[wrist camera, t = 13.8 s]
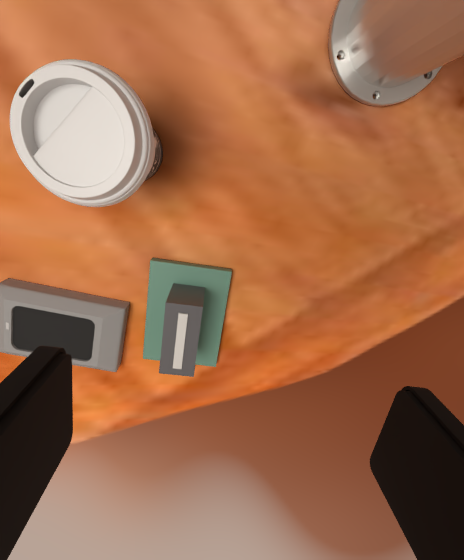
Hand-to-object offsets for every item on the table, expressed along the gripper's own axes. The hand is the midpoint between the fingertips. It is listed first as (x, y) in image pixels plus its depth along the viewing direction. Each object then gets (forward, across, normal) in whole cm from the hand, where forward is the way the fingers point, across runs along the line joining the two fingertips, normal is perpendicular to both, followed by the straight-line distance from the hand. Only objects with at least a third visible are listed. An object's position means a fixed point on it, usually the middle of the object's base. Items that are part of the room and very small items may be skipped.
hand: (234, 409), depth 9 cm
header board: (+30, +3, +12) cm, 33 cm away
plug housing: (+29, +3, +12) cm, 32 cm away
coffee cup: (+31, +11, -7) cm, 33 cm away
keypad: (+31, +18, +16) cm, 39 cm away
